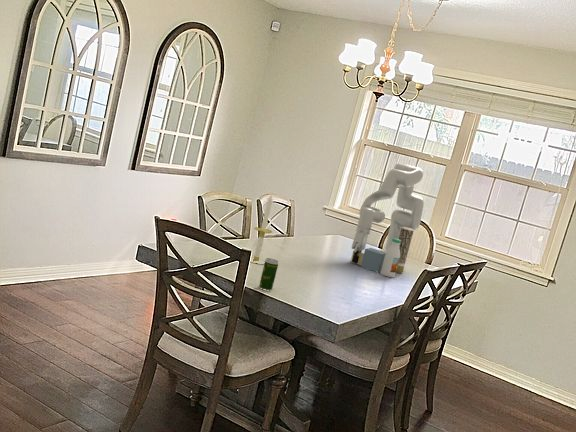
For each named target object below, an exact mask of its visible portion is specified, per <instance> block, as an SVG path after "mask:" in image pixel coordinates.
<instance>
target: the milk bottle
mask: <svg viewBox="0 0 576 432" xmlns="http://www.w3.org/2000/svg"><path fill="white" fill-rule="evenodd" d="M400 243H401V240H399V239H395V238H393V239H392V244H391V246H390V247H389V249H388V250H387V252H386V254H385V258H384V262H383V265H382V269H381V271H380V275H382V276H385V277H389V278H396V277H395V276H396V270H397V267H398V263H399V259H400V249H399V245H400Z"/></svg>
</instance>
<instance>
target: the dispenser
mask: <svg viewBox="0 0 576 432" xmlns="http://www.w3.org/2000/svg"><path fill="white" fill-rule="evenodd" d="M363 253H364V255H363V259H362V263H361V265H360V267H361V268H362V269H366V270H368V271H369V270H370V271H373V272H376V273H381V269H382V265H383V262H384V258H385V254H386V252H384V250H383V251H382V250H379V249H376V248H373V247H368V248H365V249H364V252H363Z"/></svg>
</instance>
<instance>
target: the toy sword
mask: <svg viewBox="0 0 576 432" xmlns="http://www.w3.org/2000/svg"><path fill="white" fill-rule="evenodd" d="M272 203H273V195H272V193H271V194H270V196H269V197H268V198H267V202H266V205H265V206H266V207H265V210H264V214H263V218H262V224H261V226H260V227H259V226H255V227H254V228H253V229H254V230H256V231H257V232H259V234H258V238H257V243H256V247H255V251H254V255H253V258H254V259H253V262H254V261H259V260H260V257H261V253H262V248H263V244H264V240H265V235H266V234H272V233H273V231H272V230H270V229H267V225H268V220H269V217H270V212H271V208H272Z"/></svg>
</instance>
